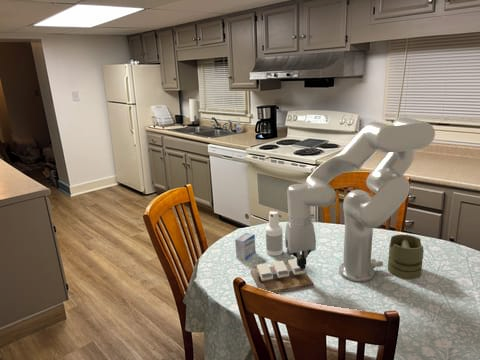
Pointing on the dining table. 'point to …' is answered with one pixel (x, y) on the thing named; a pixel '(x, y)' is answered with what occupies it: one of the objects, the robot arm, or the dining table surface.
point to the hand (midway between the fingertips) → (301, 266)
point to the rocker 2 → (295, 267)
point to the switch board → (282, 281)
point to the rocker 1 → (264, 272)
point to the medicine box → (245, 246)
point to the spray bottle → (274, 235)
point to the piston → (405, 256)
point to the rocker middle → (280, 269)
